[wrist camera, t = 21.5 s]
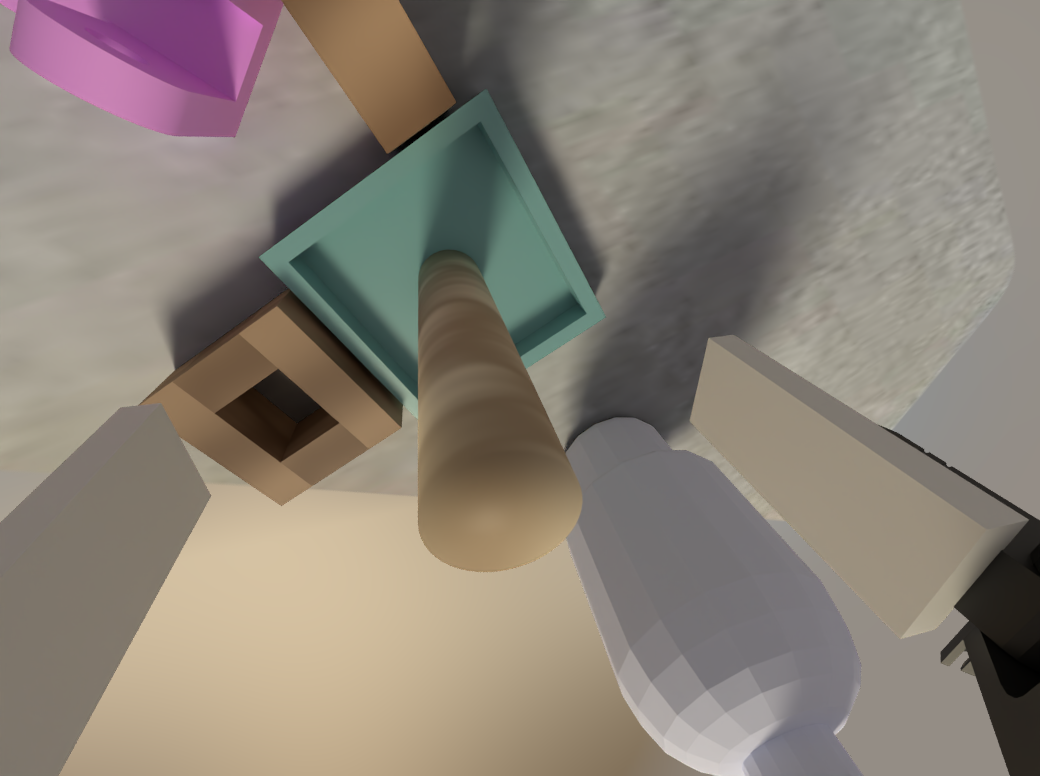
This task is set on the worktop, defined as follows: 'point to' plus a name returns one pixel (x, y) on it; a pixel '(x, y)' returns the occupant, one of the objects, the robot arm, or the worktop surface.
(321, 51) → the block
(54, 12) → the bracket
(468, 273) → the dowel
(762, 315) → the worktop surface
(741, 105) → the worktop surface
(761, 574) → the soap bottle
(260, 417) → the socket block
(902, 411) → the worktop surface
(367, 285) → the tray
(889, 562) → the robot arm
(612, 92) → the worktop surface
